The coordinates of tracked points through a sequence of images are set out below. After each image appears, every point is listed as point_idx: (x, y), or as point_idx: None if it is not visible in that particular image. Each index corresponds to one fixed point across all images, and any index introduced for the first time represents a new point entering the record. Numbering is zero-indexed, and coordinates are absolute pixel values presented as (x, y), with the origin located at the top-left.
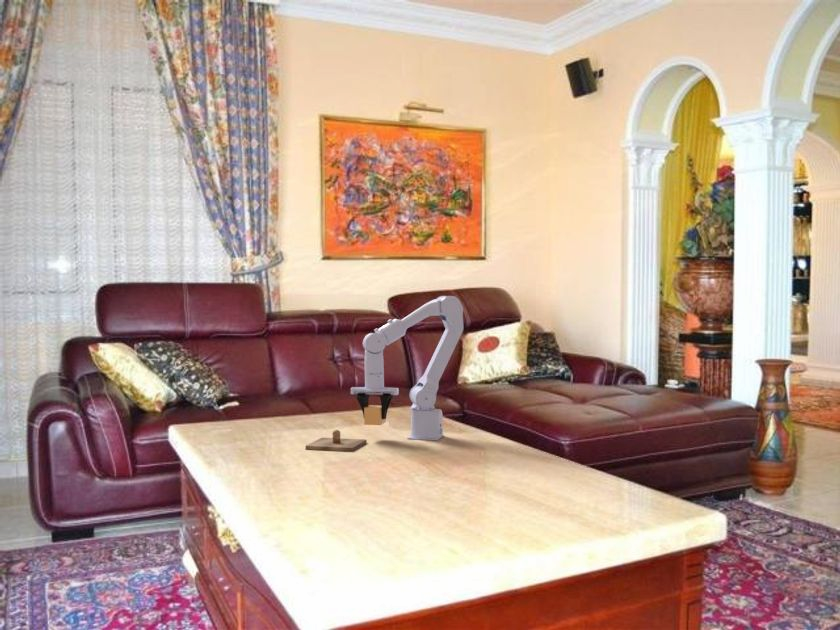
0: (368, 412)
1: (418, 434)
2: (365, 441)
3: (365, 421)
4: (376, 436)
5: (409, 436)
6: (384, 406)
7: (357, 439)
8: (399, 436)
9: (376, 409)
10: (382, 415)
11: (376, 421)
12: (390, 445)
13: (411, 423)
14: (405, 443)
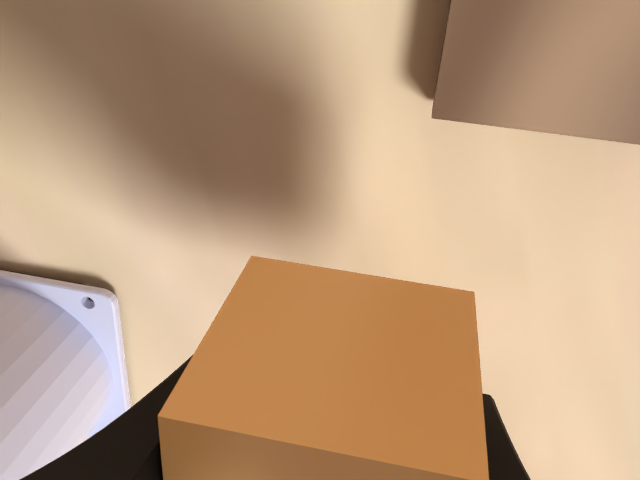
0: (402, 397)
1: (5, 304)
2: (437, 81)
3: (460, 315)
4: None
5: (110, 338)
6: (83, 458)
7: (541, 112)
8: None
9: (239, 413)
10: None
11: (294, 289)
12: (168, 41)
13: (32, 418)
14: (73, 145)
